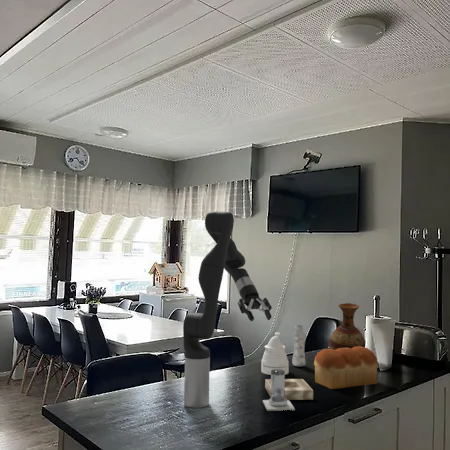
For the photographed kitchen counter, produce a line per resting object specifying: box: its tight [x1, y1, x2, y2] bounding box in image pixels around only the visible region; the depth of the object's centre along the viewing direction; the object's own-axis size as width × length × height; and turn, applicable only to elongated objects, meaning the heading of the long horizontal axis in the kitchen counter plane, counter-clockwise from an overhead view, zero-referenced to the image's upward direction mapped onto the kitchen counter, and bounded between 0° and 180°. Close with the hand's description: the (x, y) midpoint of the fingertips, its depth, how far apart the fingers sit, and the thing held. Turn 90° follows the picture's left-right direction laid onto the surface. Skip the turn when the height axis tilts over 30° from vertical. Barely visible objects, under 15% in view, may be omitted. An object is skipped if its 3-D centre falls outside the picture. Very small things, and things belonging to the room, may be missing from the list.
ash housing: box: [264, 378, 314, 401], centre depth 185 cm, size 16×16×4 cm
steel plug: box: [268, 369, 287, 407], centre depth 170 cm, size 7×7×12 cm
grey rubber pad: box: [262, 399, 296, 412], centre depth 169 cm, size 10×10×1 cm
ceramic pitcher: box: [328, 302, 366, 350], centre depth 248 cm, size 20×20×30 cm
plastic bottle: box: [291, 324, 307, 368], centre depth 230 cm, size 6×7×20 cm
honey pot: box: [261, 332, 290, 376], centre depth 219 cm, size 13×13×18 cm
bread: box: [313, 346, 379, 390], centre depth 202 cm, size 25×12×15 cm, turn 113°
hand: (261, 319), depth 190 cm, fingers open, 8 cm apart
